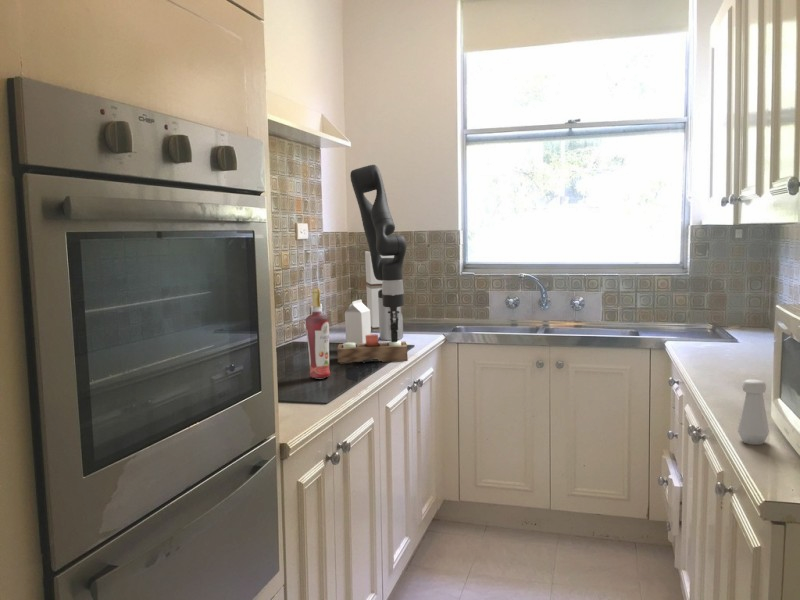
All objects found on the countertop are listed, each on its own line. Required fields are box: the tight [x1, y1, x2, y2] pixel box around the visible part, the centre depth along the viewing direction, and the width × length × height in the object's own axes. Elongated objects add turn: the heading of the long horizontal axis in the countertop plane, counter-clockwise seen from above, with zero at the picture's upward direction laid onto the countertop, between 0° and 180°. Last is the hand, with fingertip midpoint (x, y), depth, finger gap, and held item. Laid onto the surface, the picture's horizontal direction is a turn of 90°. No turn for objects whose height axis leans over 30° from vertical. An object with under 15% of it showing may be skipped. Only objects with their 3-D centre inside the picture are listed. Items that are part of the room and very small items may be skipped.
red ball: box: [366, 333, 379, 346], centre depth 240 cm, size 4×4×4 cm
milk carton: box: [344, 299, 372, 343], centre depth 257 cm, size 7×7×19 cm
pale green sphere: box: [342, 342, 356, 348], centre depth 240 cm, size 4×4×4 cm
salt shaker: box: [737, 378, 770, 446], centre depth 141 cm, size 6×6×13 cm
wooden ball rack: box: [337, 340, 409, 363], centre depth 241 cm, size 24×10×5 cm, turn 93°
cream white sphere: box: [388, 340, 402, 346], centre depth 241 cm, size 4×4×4 cm
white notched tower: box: [364, 250, 395, 333], centre depth 305 cm, size 11×11×35 cm
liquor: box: [305, 288, 332, 379], centre depth 213 cm, size 7×7×28 cm
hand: (394, 341), depth 241 cm, fingers closed
